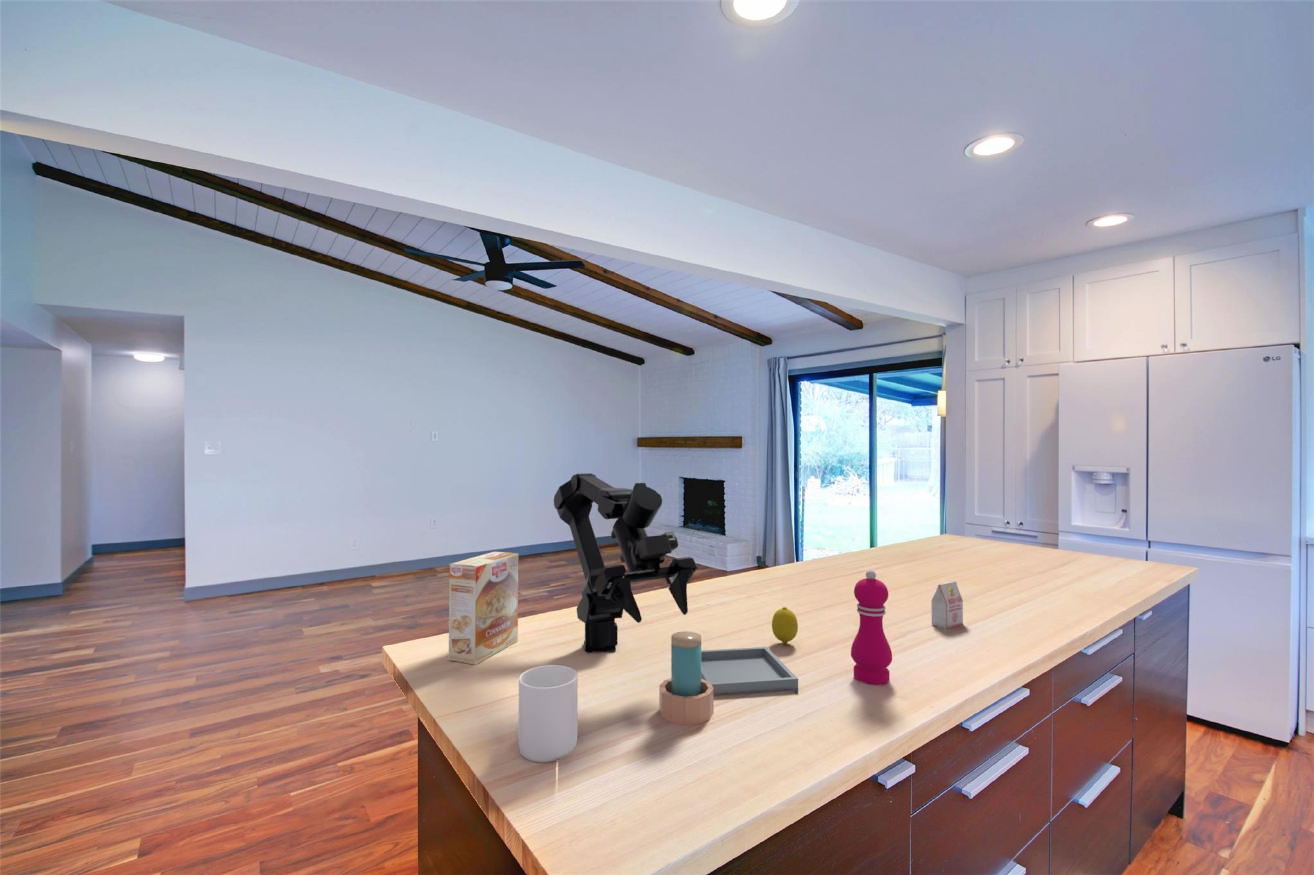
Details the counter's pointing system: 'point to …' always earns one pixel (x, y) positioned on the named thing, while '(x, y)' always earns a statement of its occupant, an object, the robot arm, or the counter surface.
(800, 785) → the counter surface
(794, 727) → the counter surface
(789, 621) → the lemon
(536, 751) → the mug
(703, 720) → the terracotta cup
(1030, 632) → the counter surface
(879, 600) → the pepper mill
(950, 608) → the milk carton
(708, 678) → the tray
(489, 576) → the coffeecake box
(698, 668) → the spice jar
